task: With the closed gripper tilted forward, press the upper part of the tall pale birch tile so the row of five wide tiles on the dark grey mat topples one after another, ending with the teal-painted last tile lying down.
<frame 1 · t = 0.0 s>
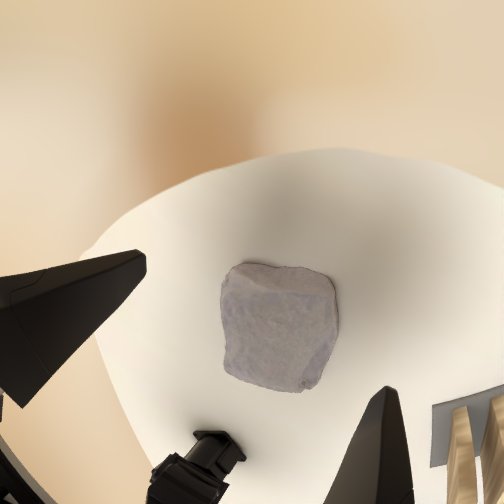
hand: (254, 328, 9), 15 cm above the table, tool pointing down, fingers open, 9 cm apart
stone block: (287, 323, 27), on the table
domino 1: (456, 436, 21), resting on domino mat
domino 2: (491, 425, 19), resting on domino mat
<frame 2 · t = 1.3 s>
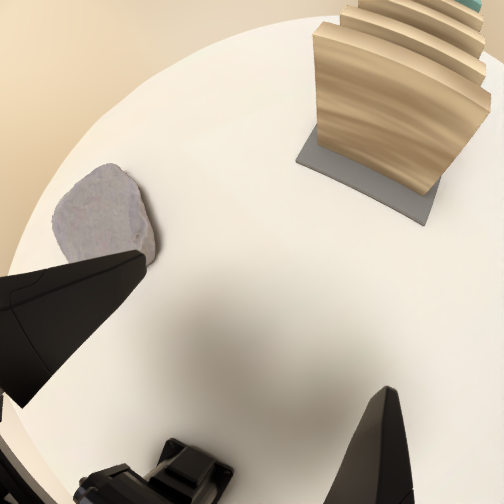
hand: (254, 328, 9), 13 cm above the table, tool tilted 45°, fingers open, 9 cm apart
domino 4: (410, 71, 23), resting on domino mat
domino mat: (398, 103, 23), on the table
stone block: (116, 231, 27), on the table
domino 1: (374, 161, 22), resting on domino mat
domino 2: (389, 125, 23), resting on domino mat
domino 3: (401, 95, 23), resting on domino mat
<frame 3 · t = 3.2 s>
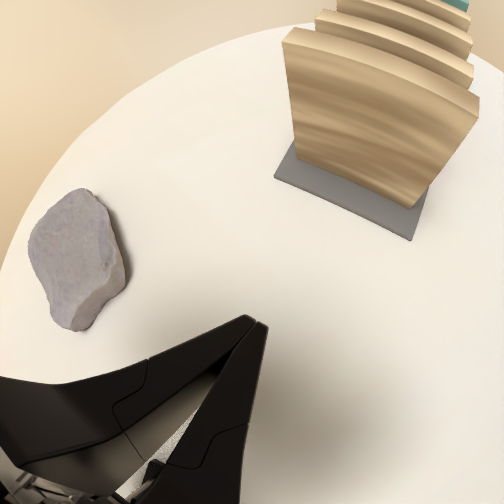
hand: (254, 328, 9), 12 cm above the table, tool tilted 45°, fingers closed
domino 4: (395, 77, 23), resting on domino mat
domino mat: (382, 111, 23), on the table
stone block: (89, 257, 26), on the table
domino 1: (356, 174, 22), resting on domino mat
domino 2: (373, 134, 22), resting on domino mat
domino 3: (386, 102, 23), resting on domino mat
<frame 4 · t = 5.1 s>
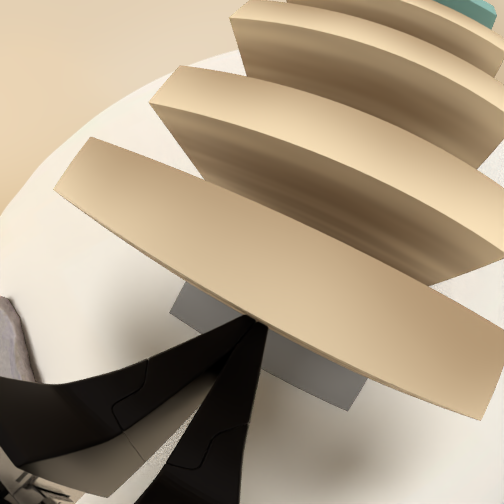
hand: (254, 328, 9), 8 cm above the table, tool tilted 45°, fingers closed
domino 4: (370, 131, 18), resting on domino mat
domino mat: (341, 199, 17), on the table
stone block: (14, 361, 20), on the table
domino 1: (280, 318, 16), resting on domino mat, tilted 5°
domino 5: (386, 92, 18), resting on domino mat
domino 2: (317, 247, 16), resting on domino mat
domino 3: (348, 183, 17), resting on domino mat
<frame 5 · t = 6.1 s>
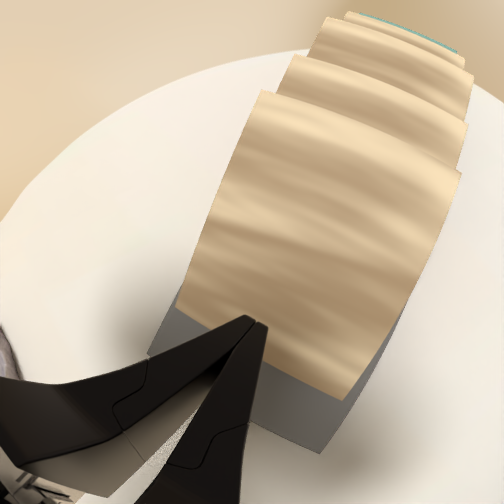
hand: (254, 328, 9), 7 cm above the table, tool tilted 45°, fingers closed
domino 4: (366, 136, 16), point 1 cm above the table, tilted 81°, touching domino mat, domino 3
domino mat: (321, 240, 17), on the table
stone block: (7, 385, 19), on the table
domino 1: (260, 349, 15), point 1 cm above the table, tilted 70°, touching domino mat, domino 2
domino 2: (302, 273, 15), point 1 cm above the table, tilted 70°, touching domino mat, domino 1, domino 3
domino 3: (340, 195, 16), point 1 cm above the table, tilted 70°, touching domino 2, domino 4
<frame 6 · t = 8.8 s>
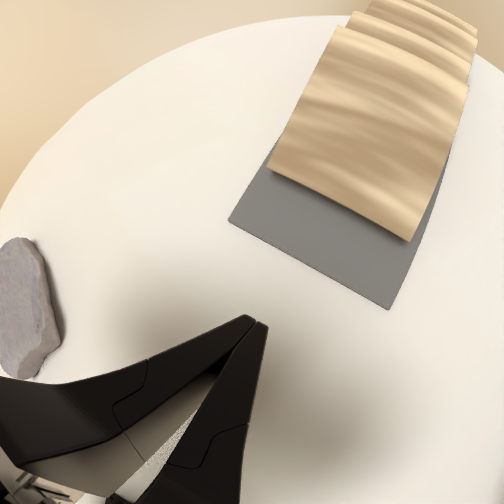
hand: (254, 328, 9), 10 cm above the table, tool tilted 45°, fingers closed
domino 4: (406, 68, 19), point 1 cm above the table, tilted 78°, touching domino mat, domino 3, domino 5
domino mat: (374, 135, 19), on the table
stone block: (32, 305, 22), on the table
domino 1: (338, 202, 18), point 1 cm above the table, tilted 71°, touching domino 2
domino 2: (366, 148, 18), point 1 cm above the table, tilted 71°, touching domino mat, domino 1
domino 3: (390, 99, 18), point 1 cm above the table, tilted 71°, touching domino 4
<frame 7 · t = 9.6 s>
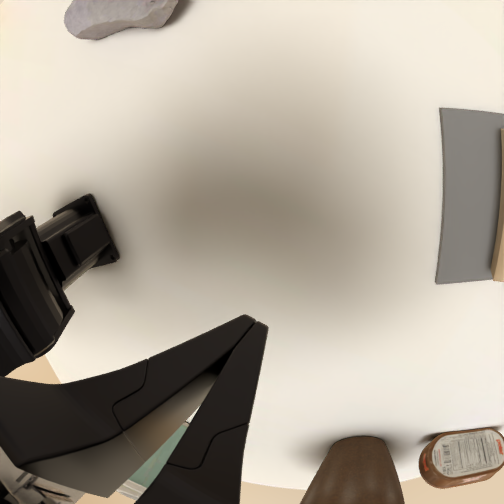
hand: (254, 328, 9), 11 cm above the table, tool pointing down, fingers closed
plant pot: (357, 445, 31), on the table
domino 1: (502, 207, 13), point 1 cm above the table, tilted 72°, touching domino 2
tin: (464, 431, 26), on the table
disposable coffee cup: (181, 426, 39), on the table
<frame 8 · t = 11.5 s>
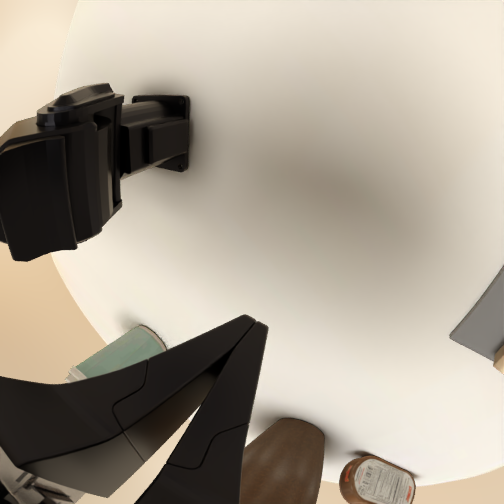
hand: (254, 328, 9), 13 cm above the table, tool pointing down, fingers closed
plant pot: (300, 429, 36), on the table
tin: (389, 463, 32), on the table
disposable coffee cup: (152, 340, 43), on the table
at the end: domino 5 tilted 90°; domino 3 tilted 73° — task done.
